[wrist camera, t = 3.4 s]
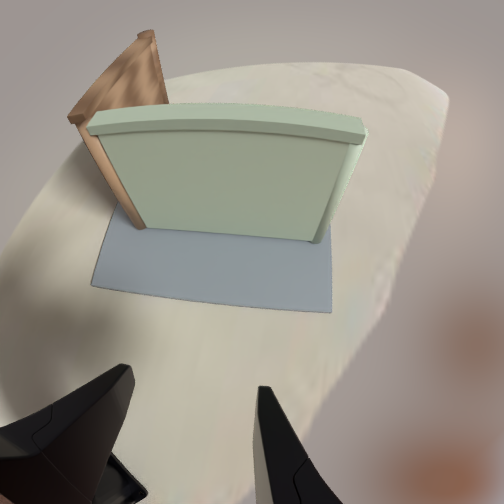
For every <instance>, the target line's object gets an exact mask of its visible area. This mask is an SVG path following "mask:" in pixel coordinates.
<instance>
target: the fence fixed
mask: <svg viewBox="0 0 504 504" xmlns="http://www.w3.org/2000/svg"><path fill="white" fill-rule="evenodd" d="M137 36H138V39H137V40H135V41H134V42H133V43H132V44H131V45H130V46H129V47H128V48H127V49H126V50H125V51H124V52H123V53H122V54H121V55H120V56H119V57H118V58H117V59H116V60H115V61H114V62H113V63H112V64H111V65H110V66H109V67H108V68H107V69H106V70H105V71H104V72H103V73H102V74H101V76H100V77H99V78H98V79H97V80H96V81H95V82H94V83H93V85H92V86H91V87H90V88H89V89H88V91H87V92H86V93H85V94H84V95H83V97H82V98H81V99H80V100H79V101H78V103H77V104H76V105H75V107H74V108H73V109H72V111H71V112H70V113H69V114H68V116H67V118H68V120H69V121H70V123H71V124H75V125H76V127H77V129H78V131H79V126H80V125H81V124H82V123H83V122H84V121H85V120H87V119H88V118H90V117H93V116H94V115H95V113H96V112H97V111H104V110H111V109H118V108H127V107H136V106H147V105H161V104H169V101H168V97H167V92H166V88H165V83H164V79H163V74H162V69H161V64H160V60H159V55H158V50H157V45H156V40H155V34H154V30H146V31H143V32H141V33H139V34H138V35H137ZM79 133H80V131H79ZM80 135H81V133H80ZM81 136H82V135H81ZM82 138H83V137H82ZM83 140H84V139H83ZM84 142H85V141H84ZM85 144H86V143H85ZM86 146H87V145H86ZM87 148H88V147H87ZM88 150H89V148H88ZM89 151H90V150H89ZM90 153H91V152H90ZM91 155H92V154H91ZM92 157H93V156H92ZM93 159H94V157H93ZM94 160H95V159H94ZM95 162H96V161H95ZM96 164H97V163H96ZM97 166H98V165H97ZM98 167H99V166H98ZM99 169H100V168H99ZM100 171H101V170H100ZM101 173H102V172H101ZM102 174H103V173H102ZM103 176H104V175H103ZM104 178H105V177H104ZM105 180H106V179H105ZM106 181H107V180H106ZM107 183H108V182H107ZM108 185H109V184H108ZM109 186H110V185H109ZM110 188H111V187H110ZM111 190H112V189H111ZM112 191H113V190H112ZM113 193H114V192H113ZM114 195H115V194H114ZM115 196H116V195H115ZM116 198H117V197H116ZM117 200H118V199H117ZM118 201H119V200H118ZM119 203H120V202H119ZM121 206H122V205H121ZM122 208H123V207H122ZM123 209H124V208H123ZM124 211H125V210H124ZM126 214H127V213H126Z"/></svg>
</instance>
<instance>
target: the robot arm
mask: <svg viewBox="0 0 504 504" xmlns="http://www.w3.org/2000/svg"><path fill="white" fill-rule="evenodd" d="M134 387H135V379H134V375H133V371H132V367H131V366H130V365H126V364H122V363H121V364H118V365H117V366H115V367H113V368H112V369H110V370H108V371H107V372H105V373H103V374H102V375H100V376H98V377H97V378H95V379H93V380H92V381H90V382H88V383H87V384H85V385H83V386H82V387H80V388H78V389H76V390H75V391H73V392H71V393H70V394H68V395H66V396H65V397H63V398H61V399H59V400H58V401H56V402H54V403H53V405H52V404H51V405H49V406H47V407H45V408H44V409H42V410H40V411H38V412H36V413H34V414H32V415H30V416H27V417H25V418H23V419H21V420H18V421H16V422H13V423H11V424H8V425H6V426H3V427H0V504H135V503H137V502H139V501H140V500H142V499H144V498H145V497H146V496H147V495H148V491H147V490H146V489H145V488H144V487H143V486H142V485H141V484H140V483H139V482H138V481H137V480H136V479H135V478H134V477H133V476H132V475H131V474H130V473H129V472H128V471H127V469H126V468H125V467H124V466H123V465H122V464H121V463H120V462H119V460H118V459H117V458H116V457H115V456H114V455H113V453H112V452H111V451H112V448H113V446H114V444H115V441H116V439H117V436H118V434H119V432H120V429H121V427H122V425H123V422H124V420H125V417H126V414H127V410H128V407H129V403H130V400H131V397H132V393H133V390H134ZM253 457H254V474H255V490H256V504H343V503H342V502H341V501H340V500H339V499H338V497H337V496H336V495H335V494H334V493H333V491H332V490H331V489H330V488H329V487H328V485H327V484H326V483H325V481H324V480H323V479H322V477H321V476H320V475H319V473H318V471H317V470H316V468H315V467H314V465H313V463H312V461H311V460H310V458H308V455H307V453H306V451H305V449H304V448H303V446H302V444H301V442H300V440H299V439H298V437H297V435H296V433H295V431H294V430H293V428H292V426H291V424H290V422H289V420H288V419H287V417H286V415H285V413H284V411H283V409H282V408H281V406H280V404H279V402H278V400H277V398H276V396H275V394H274V392H273V391H272V389H271V387H269V386H259V387H258V392H257V399H256V409H255V420H254V432H253ZM140 491H142V492H143V493H144V494H141V492H140Z"/></svg>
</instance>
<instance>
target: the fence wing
mask: <svg viewBox="0 0 504 504" xmlns="http://www.w3.org/2000/svg"><path fill="white" fill-rule="evenodd" d="M79 131H80V133H81V135H82V137H83V139H84V141H85V143H86V145H87V147H88V148H89V150H90V152H91V154H92V156H93V157H94V159H95V161H96V163H97V165H98V166H99V168H100V170H101V172H102V173H103V175H104V177H105V179H106V180H107V182H108V184H109V185H110V187H111V189H112V190H113V192H114V194H115V195H116V197H117V199H118V200H119V202H120V204H121V205H122V207H123V208H124V210H125V212H126V213H127V215H128V216H129V218H130V219H131V221H132V223H133V224H134V226H135V227H136V228H137V229H138V230H143V229H145V228H159V229H173V230H186V231H199V232H212V233H224V234H237V235H248V236H260V237H272V238H283V239H294V240H305V241H310V242H311V243H313V244H319V243H320V242H321V241H322V239H323V237H324V235H325V233H326V231H327V229H328V227H329V224H330V222H331V220H332V218H333V216H334V214H335V211H336V209H337V207H338V205H339V202H340V200H341V198H342V196H343V193H344V191H345V189H346V187H347V184H348V182H349V180H350V177H351V175H352V173H353V170H354V168H355V165H356V163H357V161H358V158H359V156H360V153H361V151H362V148H363V146H364V144H365V141H366V139H367V136H368V133H369V132H368V129H367V128H366V127H365V126H364V125H363V123H362V120H361V118H358V117H353V116H348V115H342V114H336V113H330V112H324V111H317V110H309V109H301V108H293V107H283V106H272V105H258V104H238V103H180V104H161V105H147V106H136V107H127V108H118V109H111V110H104V111H97V112H96V113H95V115H94V116H93V117H90V118H88V119H87V120H85V121H84V122H83V123H82V124H81V125H80V126H79Z"/></svg>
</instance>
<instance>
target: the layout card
mask: <svg viewBox="0 0 504 504" xmlns="http://www.w3.org/2000/svg"><path fill="white" fill-rule="evenodd" d="M91 285H92V286H93V287H99V288H105V289H111V290H117V291H123V292H129V293H136V294H142V295H149V296H156V297H163V298H171V299H178V300H186V301H194V302H203V303H212V304H221V305H230V306H240V307H251V308H262V309H274V310H288V311H302V312H318V313H332V255H331V229H330V224H329V227H328V229H327V231H326V233H325V235H324V237H323V239H322V241H321V242H320V243H319V244H313V243H311V242H310V241H305V240H294V239H283V238H272V237H260V236H248V235H237V234H224V233H212V232H199V231H186V230H173V229H159V228H145V229H143V230H138V229H137V228H136V227H135V226H134V224H133V223H132V221H131V219H130V218H129V216H128V215H127V214H126V212H125V211H124V209H123V208H122V206H121V204H120V203H119V201H118V203H117V205H116V208H115V211H114V213H113V216H112V219H111V222H110V225H109V227H108V230H107V233H106V236H105V239H104V242H103V246H102V249H101V252H100V255H99V259H98V262H97V265H96V269H95V272H94V276H93V280H92V283H91Z"/></svg>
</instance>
